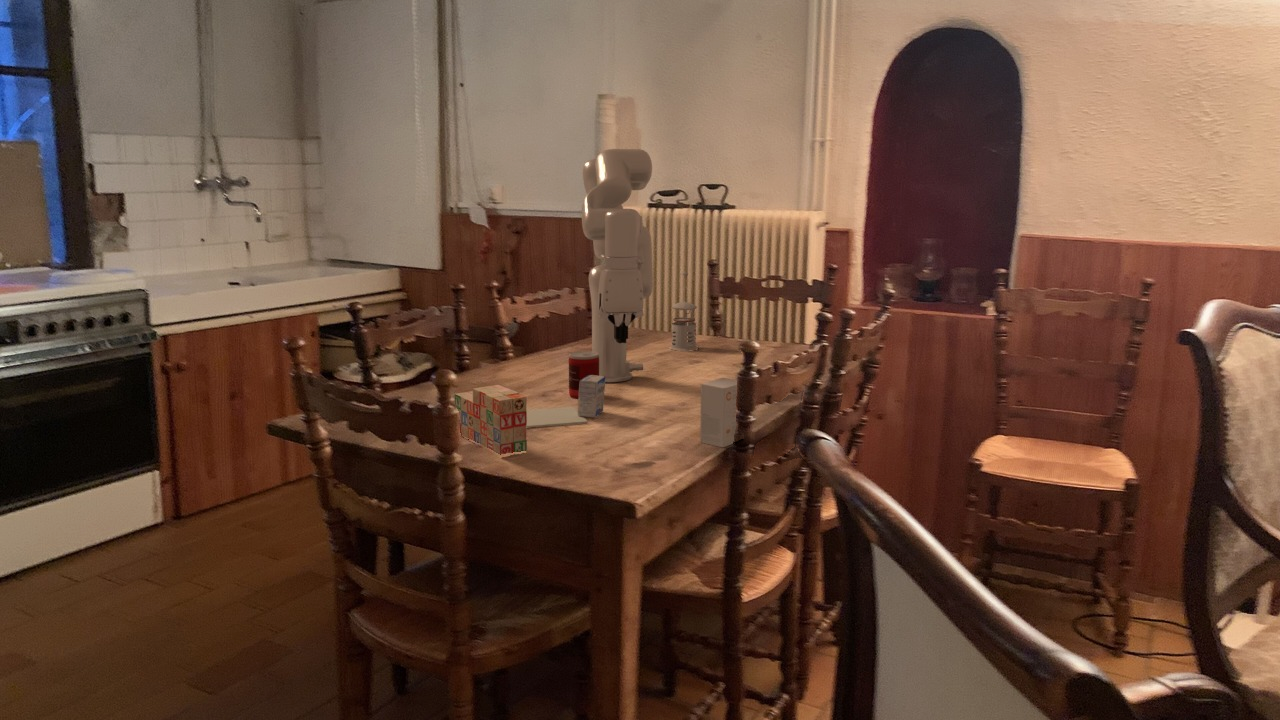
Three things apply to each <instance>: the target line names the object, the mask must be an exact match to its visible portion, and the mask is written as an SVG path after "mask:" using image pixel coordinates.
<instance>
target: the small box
mask: <svg viewBox="0 0 1280 720" xmlns="http://www.w3.org/2000/svg"><path fill="white" fill-rule="evenodd" d="M737 380H738V379H732V378H726V377H721V378H718V379H714V380H710V381H706V382H703V383H700V430H699V431H700V433H699V434H700V435H699V436H700V437H699V439H700V440H699V442H700V443H701V444H705V445H706V444H707V445H709V446H715V447H719V448H726V447H728V446H730V445H733V441H734V434H735V429H736V394H737Z"/></svg>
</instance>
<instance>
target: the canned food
mask: <svg viewBox="0 0 1280 720" xmlns="http://www.w3.org/2000/svg"><path fill="white" fill-rule="evenodd" d="M588 375H597V376H599V353H597V352H592V350H590V351H588V350H583V351H582V350H581V351H579V350H578V351H572V352H570V353H569V354H568V395H569V397H570V398H572V399H575V400H576V399H577V400H578V399H579V384H580V381H581V380H582V379H584V378H585V377H587V376H588Z"/></svg>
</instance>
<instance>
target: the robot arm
mask: <svg viewBox="0 0 1280 720" xmlns="http://www.w3.org/2000/svg"><path fill="white" fill-rule="evenodd" d="M652 173H653V164H652V159H651V156H650V154H649V153H648V152H647V151H646V150H644V149H639V148H638V149H637V148H630V149H629V148H628V149H627V148H610V149H605V150H602V151H601V152H599V154H598V155H597V156H596V158H592V159H589V160H587V161H586V162H584V165H583V168H582V179H583V180H582V181H583V185H584V189H585V193H586V195H585V197H584V199H583V201H582V205H581V227H582V232H583V235H584V236H585V237H586V239H588V240H591V241H592V243H593V252H594V255H595V256H596V257H597V258H598V259H600V260H604V264H599V265H596V266H594V267H592V268H591V269H590V271H589V272H588V273H589V274H588V287H589V292H590V293H589V294H590V301H591V351H592V352H597V353H599V376H604V377H605V383H623V382H626V381H629V380H631V379H632V377H633V374H632V372H633V371H636V372H638V371H644V364H643V363H636V362H629V361H628V360H627V340H628V339H629V326H631V323H632V322H633V321H634V320H635V319H638V318H639V319H640V318H641V317H644V315H645V314H644V300H645V299H648V298H649V297H650V296H651V295H652V293H653V288H654V287H653V286H654V276H653V275H654V274H653V270H654V269H653V247H652V245H653V244H652V237H651V233H650V230H649V229H648V228H647V227H646V226H644V225H643V217H642V216H641V214H640V212H639V211H637V210H636V209H634V208H633V209H632V208H624V206H623V204H624V203H626V202H627V201H628V200H629V199H630V197H631V195H632V192H633V191H641V190H644V189H645V188H646V187H647V185H649V184H648V183H649V182H650V180H651V177H652Z"/></svg>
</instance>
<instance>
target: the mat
mask: <svg viewBox="0 0 1280 720" xmlns="http://www.w3.org/2000/svg"><path fill="white" fill-rule="evenodd" d="M526 411H527V425H526V427H536V428H543V427H542V426H548V427H558V426H559V427H560V426H571V425H573V426H574V425H582V424H583V425H585V424H589V422H588V419H586V417H583V416H578V409H576V408H575V407H574V406H564V407H552V408H551V407H550V408H549V407H548V408H536V409H526Z"/></svg>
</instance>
